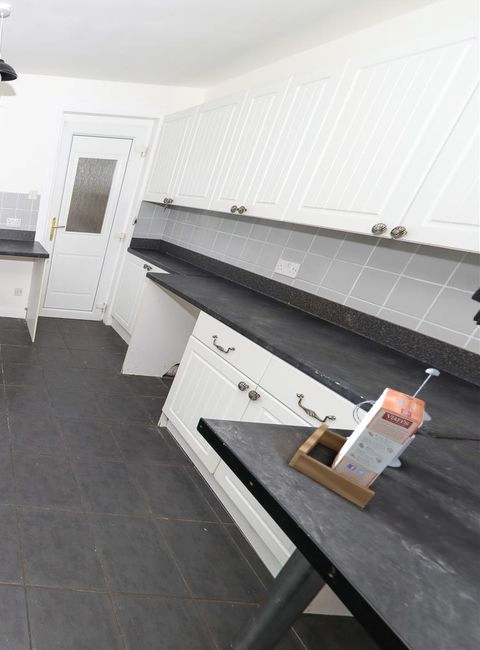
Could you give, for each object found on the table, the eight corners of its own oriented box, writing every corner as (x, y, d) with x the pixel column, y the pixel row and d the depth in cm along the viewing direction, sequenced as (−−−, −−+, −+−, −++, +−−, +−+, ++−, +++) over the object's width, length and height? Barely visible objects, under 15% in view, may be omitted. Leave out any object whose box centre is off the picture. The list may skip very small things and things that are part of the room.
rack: (313, 437, 88) (323, 422, 86) (381, 472, 78) (393, 456, 76) (288, 464, 78) (299, 448, 76) (362, 508, 68) (376, 491, 66)
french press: (389, 470, 79) (460, 384, 69) (328, 435, 89) (382, 355, 79) (409, 462, 82) (479, 379, 73) (348, 429, 92) (403, 352, 83)
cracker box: (362, 499, 70) (425, 423, 62) (323, 478, 75) (377, 404, 67) (371, 472, 78) (428, 401, 70) (335, 454, 82) (385, 385, 74)
